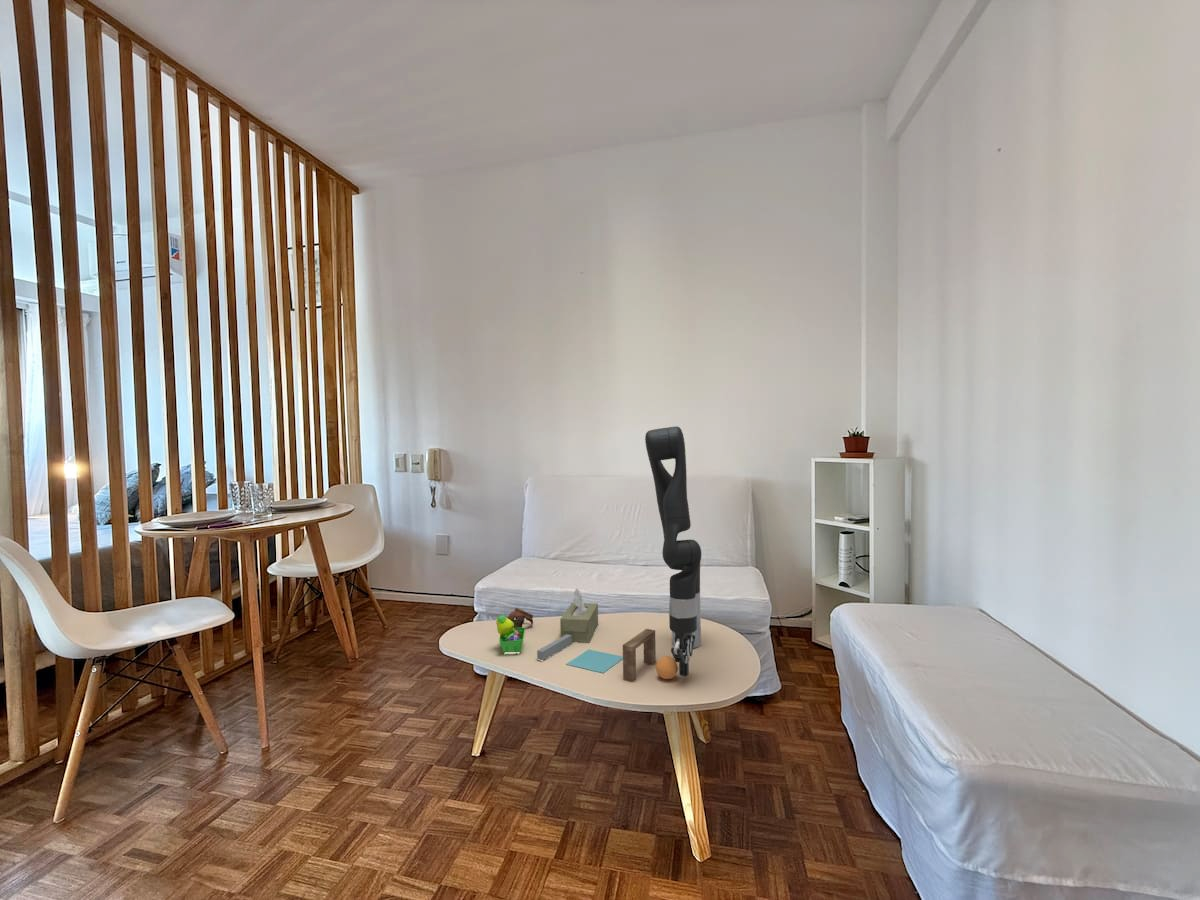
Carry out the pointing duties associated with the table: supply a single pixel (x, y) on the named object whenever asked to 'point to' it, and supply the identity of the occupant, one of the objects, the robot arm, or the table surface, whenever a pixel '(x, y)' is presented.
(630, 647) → the bridge
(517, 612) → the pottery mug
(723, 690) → the table surface
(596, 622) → the tissue box
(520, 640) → the fruit basket
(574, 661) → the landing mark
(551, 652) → the stopper wall
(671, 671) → the orange ball
